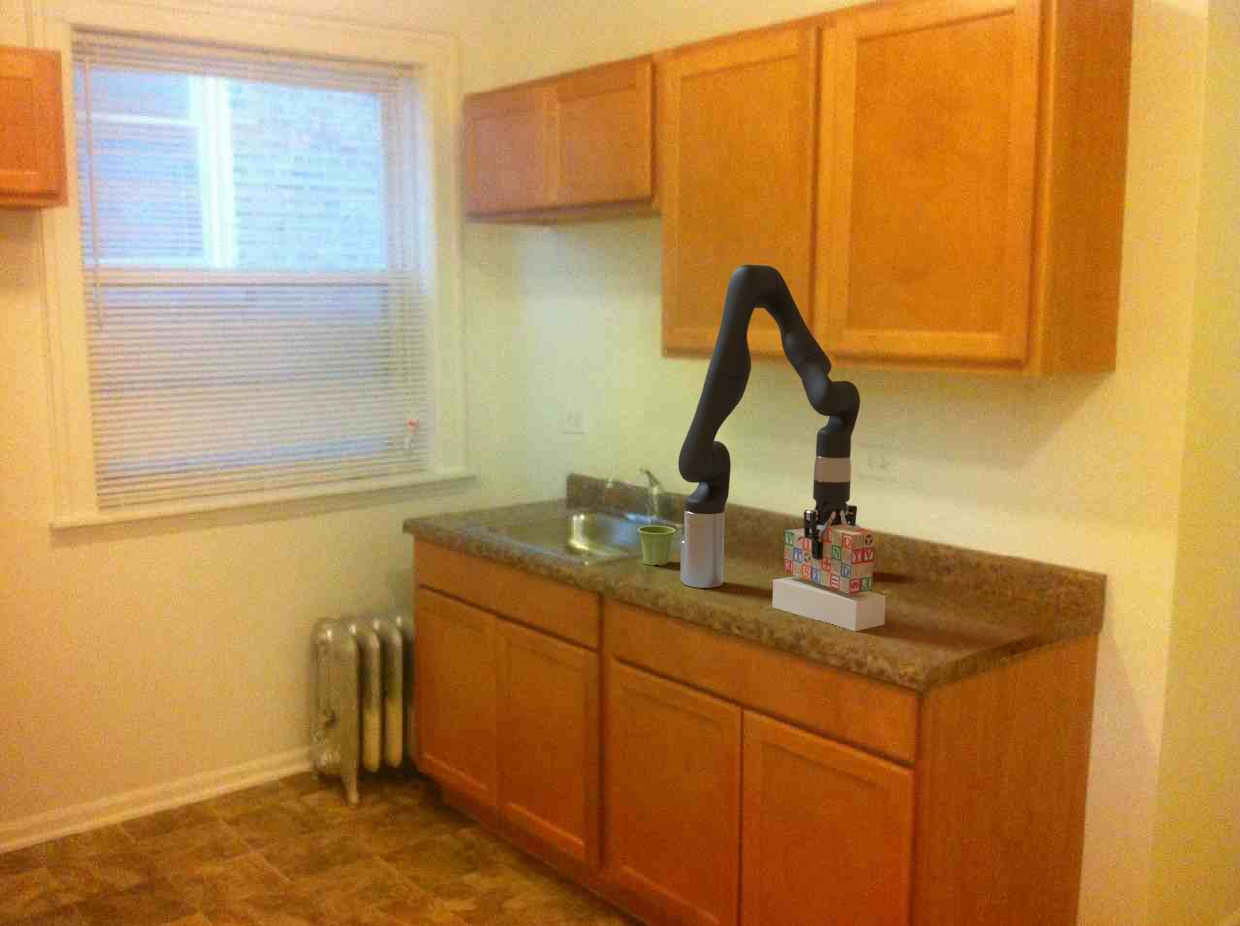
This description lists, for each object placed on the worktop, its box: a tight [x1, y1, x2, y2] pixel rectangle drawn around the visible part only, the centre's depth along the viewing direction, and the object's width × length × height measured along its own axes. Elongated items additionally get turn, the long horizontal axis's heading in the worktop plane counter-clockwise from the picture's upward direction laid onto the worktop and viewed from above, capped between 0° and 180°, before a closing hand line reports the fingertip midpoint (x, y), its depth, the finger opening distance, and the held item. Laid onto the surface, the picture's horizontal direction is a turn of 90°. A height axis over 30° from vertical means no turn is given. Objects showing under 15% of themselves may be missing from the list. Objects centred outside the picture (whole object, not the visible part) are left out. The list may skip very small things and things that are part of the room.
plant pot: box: [637, 525, 676, 567], centre depth 292 cm, size 9×9×9 cm
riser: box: [772, 575, 886, 632], centre depth 245 cm, size 23×9×6 cm, turn 38°
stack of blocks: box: [783, 523, 876, 594], centre depth 244 cm, size 21×6×12 cm, turn 31°
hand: (828, 556), depth 244 cm, fingers closed on stack of blocks, 6 cm apart
